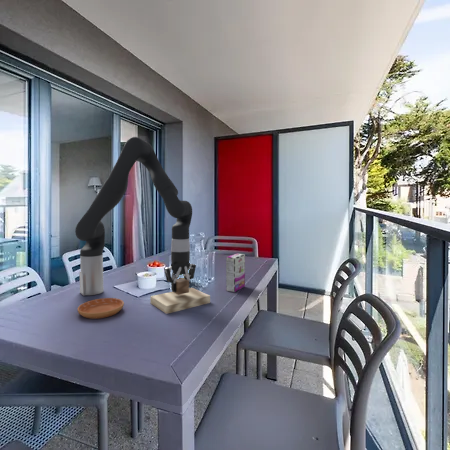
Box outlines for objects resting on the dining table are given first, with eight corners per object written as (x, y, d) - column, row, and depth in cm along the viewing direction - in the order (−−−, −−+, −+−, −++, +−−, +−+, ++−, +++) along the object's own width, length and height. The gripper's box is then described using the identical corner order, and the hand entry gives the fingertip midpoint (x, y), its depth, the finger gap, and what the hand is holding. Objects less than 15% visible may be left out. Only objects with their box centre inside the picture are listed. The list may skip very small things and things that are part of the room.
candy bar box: (236, 285, 145) (236, 253, 144) (245, 286, 143) (245, 254, 141) (225, 291, 136) (225, 256, 134) (234, 292, 133) (235, 257, 132)
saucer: (77, 324, 97) (77, 315, 97) (77, 308, 112) (77, 301, 111) (126, 316, 105) (126, 308, 105) (120, 302, 119) (120, 295, 119)
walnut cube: (178, 294, 115) (178, 282, 114) (172, 291, 118) (172, 279, 118) (188, 292, 118) (188, 280, 117) (182, 289, 122) (182, 277, 121)
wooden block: (166, 313, 107) (166, 306, 107) (150, 303, 118) (150, 296, 117) (210, 302, 119) (210, 295, 119) (192, 294, 130) (192, 287, 130)
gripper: (190, 246, 124) (190, 285, 125) (160, 250, 115) (160, 291, 117) (200, 249, 118) (200, 289, 120) (169, 252, 109) (169, 296, 111)
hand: (180, 290), depth 118 cm, fingers closed on walnut cube, 5 cm apart
